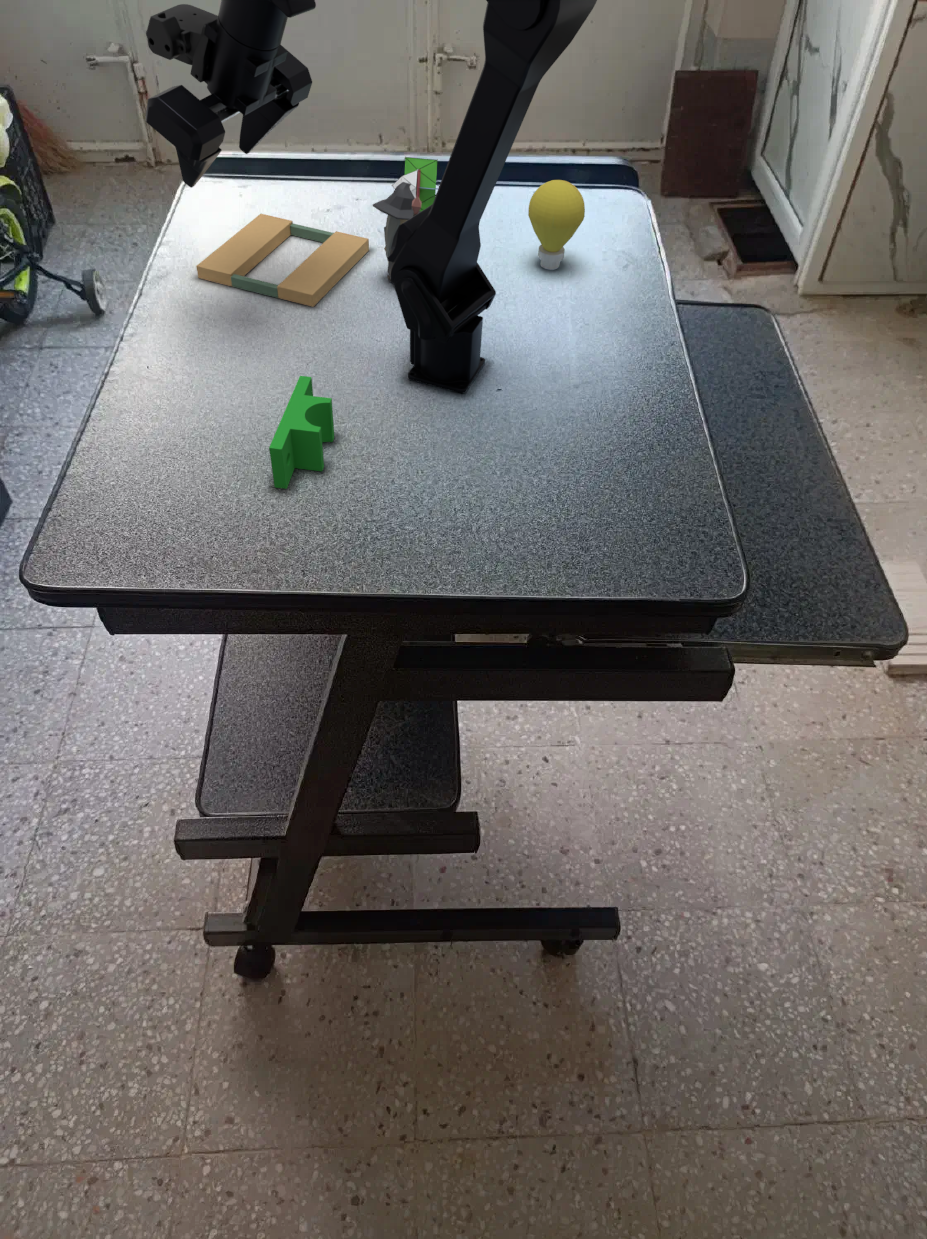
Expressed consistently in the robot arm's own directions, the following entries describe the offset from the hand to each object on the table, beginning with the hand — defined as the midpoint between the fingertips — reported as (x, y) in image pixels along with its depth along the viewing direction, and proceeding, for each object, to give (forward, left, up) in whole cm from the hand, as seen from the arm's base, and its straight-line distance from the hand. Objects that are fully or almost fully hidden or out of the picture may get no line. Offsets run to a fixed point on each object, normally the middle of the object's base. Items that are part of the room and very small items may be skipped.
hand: (216, 167), depth 94 cm
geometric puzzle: (-12, -27, -14) cm, 33 cm away
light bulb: (-32, -21, -14) cm, 41 cm away
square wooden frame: (-3, -7, -13) cm, 16 cm away
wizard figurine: (-18, -9, -14) cm, 24 cm away
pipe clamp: (-22, +24, -14) cm, 35 cm away
